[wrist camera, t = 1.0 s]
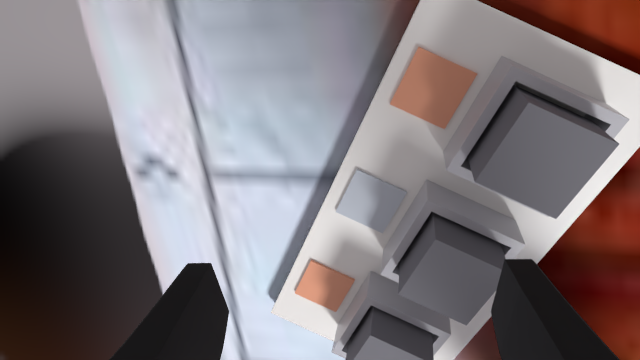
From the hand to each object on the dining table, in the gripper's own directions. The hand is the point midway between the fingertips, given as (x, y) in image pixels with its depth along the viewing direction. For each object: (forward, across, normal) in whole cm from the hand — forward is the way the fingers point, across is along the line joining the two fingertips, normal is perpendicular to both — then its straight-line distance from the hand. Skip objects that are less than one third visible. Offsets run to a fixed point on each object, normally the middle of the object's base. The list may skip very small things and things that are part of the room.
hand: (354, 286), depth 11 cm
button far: (+9, -2, +16) cm, 19 cm away
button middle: (+10, -5, +10) cm, 15 cm away
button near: (+11, -8, +3) cm, 14 cm away
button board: (+13, -4, +10) cm, 17 cm away
